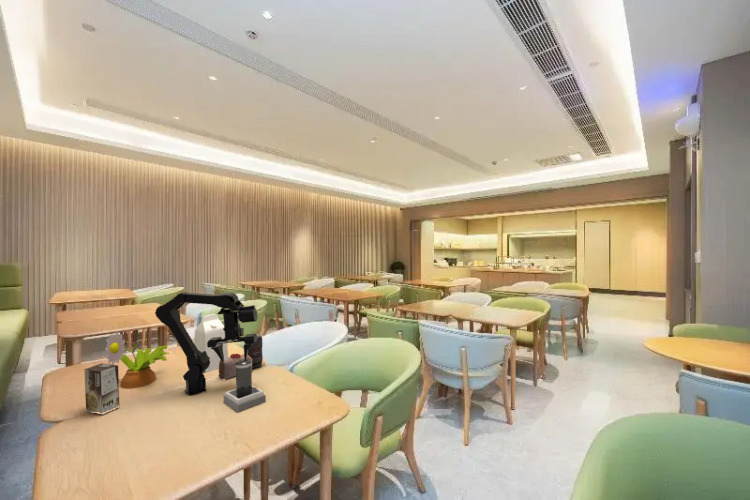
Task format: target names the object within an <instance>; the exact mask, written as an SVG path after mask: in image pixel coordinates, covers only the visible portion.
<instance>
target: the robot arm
mask: <svg viewBox="0 0 750 500" xmlns="http://www.w3.org/2000/svg"><path fill="white" fill-rule="evenodd" d="M185 303H187V304H200V305H210V306H211V305H212V306H215V307H218V308H220V310H219V311H218V312H217V313H216V314H217V315H222V317H223V318H222V320H223V325H224V328H223V331H224V332H225V338H224V339H222V338H221V337H213V338H211V339H210V340H209V341H208V342H207V347H208V348H210V347H212V348H211V349H213V350H214V351H215V352H216V353H217V355H218V356H219V358H220V359H221V361H222V362H224V354H223V343H227V344H233V343H241V342H243V343H244V344H243V354H244V358H245V359H247V355H248V351H249V348H250V346H251V345H252V344H253V343H255V342H256V340H257V335H258V334H257V333H248V334H245V336H244V333H245V331H244V329H245V328H243V327H241V325H240V322H241V323H243V324H244V323H254V322H257V321H258V311H257V308H256V305H254V304H252V305H246V306H245V305H244V303H242V302H241V300H239V296H238V295H237V294H236V293H234V292H228V293H219V294H210V293H208V294H207V293H195V292H187V291H183V292H180V293H178V294H177V295H176V296H174V297H173V298H172V299H170V300H169V301H167V302H166V303H164V304H162V305H161V304H160V305H159V306H157V307H156V309H155V312H154V314H155V316H156V317H157V319H158V320H159V321H160V322H161V323H162V324H164V325H165V326H167V327H168V328H169V330H170V332H171V334H172V335H173V337H174V338H175V340H176V342H177V343H178V345H179V348H180V349H181V350H182V352H183V353H184V355H185V357H186V365H187V368H188V370H187V371H186V372H185V373H184V374H183V375H182V378H183V380H184V381H185V390H184V392H185V394H187V395H188V396H194V395H197V394H200V393H202V392H203V391H204V392H207V381H206V380H207V378H206V377H205V374H206V373H205V371H206V369H207V368H208V367H209V365H210V360H209V359H210V358H209V357H208V355H207V353H206V351H203V352H201V351H199V350H198V349H197V347H196V346H195V344H194V341H193V339H192V337H191V336H190V334H189V333H188V331H187V329H186V327H185V326H184V324H183V323H182V320H181V313H180V310H179V309H181V308H182V307H183V306H184V305H185Z"/></svg>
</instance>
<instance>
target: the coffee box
mask: <svg viewBox="0 0 750 500" xmlns="http://www.w3.org/2000/svg"><path fill="white" fill-rule="evenodd" d="M119 377H120V376H119V365H118V364H113V365H112V363H111V364H110V363H104V362H103V363H102V362H101V363H99V364H96V365H92V366H90V367H88V368H84V393H85V395H84V396H85V412H86V413H88V412H100V413H103V412H106V411H108V410H111V409H113V408H116V407H118V406H119V407H120V381H119V379H120V378H119Z"/></svg>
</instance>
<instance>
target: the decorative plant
mask: <svg viewBox="0 0 750 500" xmlns="http://www.w3.org/2000/svg"><path fill="white" fill-rule="evenodd" d="M114 334H115V335H114ZM114 334H111V333H110V334H109V337H108V338H106V339H105V342H106V345H105V346H106V347H105V348H104V351H105V353H106V354H105V357H106V359H107V360H108V362H107V364H110V363H111V365H115V364H116V365H118V364H119V363H120V362H122V363H123V365H125V366H126V367H127V370H126V371H125V374H124V375H123V377H122V378H121V382H120V384H119V388H121V389H125V390H129V389H137V388H142V387H146V386H149V385H151V384H153V383H155V382H156V381H157V377H156V373H155V372H154V370H152V369H151V366H150V365H151V364H154V363H156V361H158V360H161V361H162V362H165V361H168V359H167V357H166V356H165V355H169V354H170V352H165V351H164V350H165V349H166V348H168V345H167V344H166V345H165V344H164V345H163V346H161V345H158V346H157V347H155V349H154V350H153V351H152V349H153V348H152V347H146V348H145V349H144V350H143V349H142V348H141V349H139V348H138V349H137V344H134V346H133V347H132V348H133V349H132V350H130V349H128V347H125V343H126V339H123V333H120V334H119V333H118V330H116V331H115V333H114ZM125 350H127V351H128V352H130V353H131V354H132V356H133V358H134V361H133V360H132V359H130V357H128V355H127V354H123V353H124V351H125ZM136 350H137V351H136ZM135 351H136V352H137V353H136V355H135ZM151 351H152V352H151Z"/></svg>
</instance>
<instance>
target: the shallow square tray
mask: <svg viewBox="0 0 750 500" xmlns="http://www.w3.org/2000/svg"><path fill="white" fill-rule="evenodd" d="M224 393H225V395H223V403H224V404H225V405H226V406H228V407H230V408H231V409H232V410H233V411H235V412H237V413H240V412H242V411H245V410H249V409H251V408H253V407H255V406H256V407H257V406H258V405H262V404H264V403H266V401H267V398H266V397H267V396H266V394H265V393H264V390H262V389H260V388H259V387H257V386H256V385H253V384H252V394H251V395H248V396H245V397H243V398H240V399H238V398H237V396H236V388H235V389H232V390H228V391H225V392H224Z"/></svg>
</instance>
